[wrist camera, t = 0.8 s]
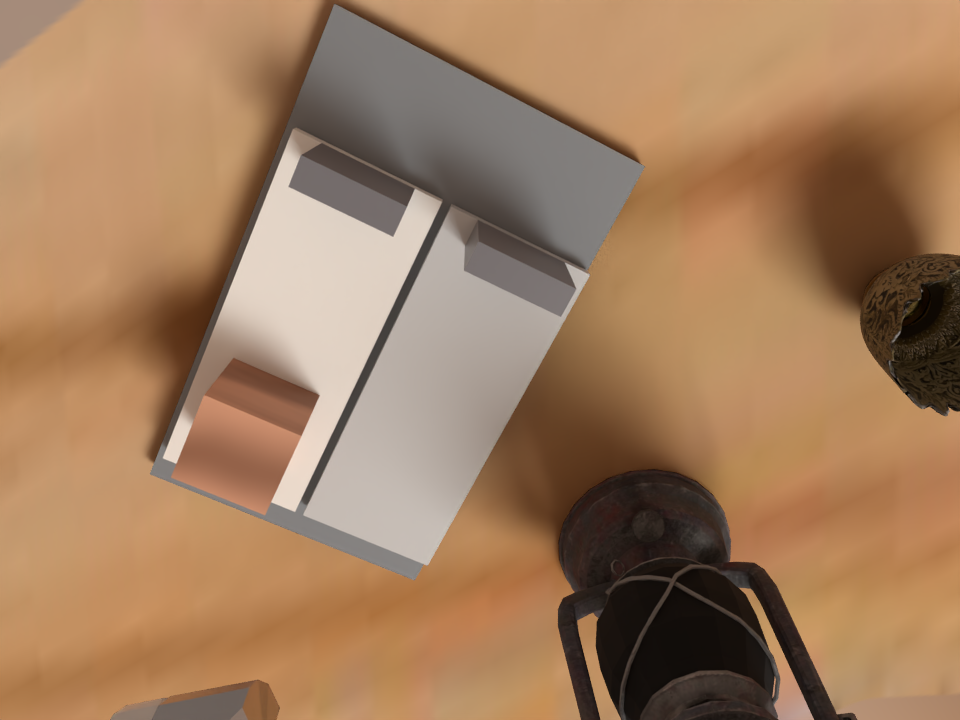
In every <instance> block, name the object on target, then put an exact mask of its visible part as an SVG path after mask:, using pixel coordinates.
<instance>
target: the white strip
mask: <svg viewBox="0 0 960 720" xmlns="http://www.w3.org/2000/svg"><path fill="white" fill-rule="evenodd" d="M442 201H443V199H441V198H439V197H437V196H435V195H433V194H431V193H429V192H426V191H424V190H422V189H420V188H418V187H416V186H414V185H412V184H410V183H408V182H406V181H404V180H402V179H400V178H398V177H396V176H394V175H392V174H390V173H388V172H386V171H384V170H382V169H380V168H378V167H376V166H374V165H372V164H370V163H368V162H366V161H363V160H361V159H359V158H357V157H355V156H353V155H351V154H349V153H347V152H345V151H343V150H341V149H339V148H337V147H335V146H333V145H331V144H329V143H327V142H325V141H323V140H321V139H319V138H317V137H315V136H313V135H311V134H309V133H307V132H305V131H303V130H300V129H298V128H294V129H293V130H292V133H291V135H290V138H289V140H288V143H287V145H286V148H285V150H284V153H283V155H282V158H281V161H280V163H279V166H278V168H277V171H276V173H275V176H274V178H273V181H272V183H271V186H270V188H269V191H268V193H267V196H266V198H265V201H264V203H263V206H262V209H261V211H260V214H259V216H258V219H257V221H256V224H255V226H254V229H253V231H252V234H251V236H250V239H249V241H248V244H247V246H246V249H245V251H244V254H243V257H242V259H241V262H240V264H239V267H238V269H237V272H236V274H235V277H234V279H233V282H232V284H231V287H230V289H229V292H228V294H227V297H226V299H225V302H224V305H223V307H222V310H221V312H220V315H219V317H218V320H217V322H216V325H215V327H214V330H213V332H212V335H211V337H210V340H209V342H208V345H207V347H206V350H205V353H204V355H203V358H202V360H201V363H200V365H199V368H198V370H197V373H196V375H195V378H194V380H193V383H192V385H191V388H190V390H189V393H188V396H187V398H186V401H185V403H184V406H183V408H182V411H181V413H180V416H179V418H178V421H177V423H176V426H175V428H174V431H173V433H172V436H171V438H170V441H169V444H168V446H167V449H166V451H165V454H164V456H163V459H166V460H168V461H171V462H173V463H177V461H178V458H179V456H180V453H181V451H182V449H183V446H184V444H185V441H186V439H187V436H188V434H189V431H190V429H191V426H192V424H193V421H194V419H195V416H196V414H197V411H198V409H199V406H200V404H201V401H202V399H203V397H204V395H205V393H206V392H207V391H208V389H209V388H210V387H211V386H212V384H213V383H214V382H215V381H216V379H217V378H218V377H219V376H220V374H221V373H222V372H223V371H224V369H225V368H226V367H227V365H228V364H229V363H230V362H231V360H232V359H233V358H235V359H237V360H240V361H242V362H244V363H247V364H249V365H251V366H253V367H256V368H258V369H260V370H263V371H265V372H267V373H270V374H272V375H274V376H276V377H279V378H281V379H283V380H286V381H288V382H290V383H293V384H295V385H297V386H299V387H302V388H304V389H306V390H309V391H311V392H313V393H316V394H318V395H320V396H319V398H318V401H317V403H316V405H315V407H314V410H313V412H312V414H311V416H310V418H309V421H308V423H307V425H306V427H305V430H304V432H303V434H302V436H301V438H300V441H299V443H298V445H297V447H296V449H295V451H294V454H293V456H292V458H291V460H290V462H289V464H288V467H287V469H286V471H285V473H284V475H283V477H282V480H281V482H280V484H279V486H278V488H277V491H276V493H275V495H274V497H273V499H272V501H271V502H272V503H274V504H277V505H279V506H282V507H284V508H286V509H289V510H291V511H294V512H295V511H296V509H297V507H298V505H299V502H300V500H301V498H302V496H303V494H304V492H305V490H306V488H307V486H308V484H309V481H310V479H311V477H312V475H313V473H314V471H315V469H316V467H317V465H318V462H319V460H320V458H321V456H322V454H323V452H324V450H325V448H326V446H327V444H328V441H329V439H330V437H331V435H332V433H333V431H334V429H335V427H336V425H337V423H338V420H339V418H340V416H341V414H342V412H343V410H344V408H345V406H346V404H347V401H348V399H349V397H350V395H351V393H352V391H353V389H354V387H355V385H356V383H357V380H358V378H359V376H360V374H361V372H362V370H363V368H364V366H365V364H366V361H367V359H368V357H369V355H370V353H371V351H372V349H373V347H374V345H375V343H376V340H377V338H378V336H379V334H380V332H381V330H382V328H383V326H384V324H385V321H386V319H387V317H388V315H389V313H390V311H391V309H392V307H393V305H394V303H395V300H396V298H397V296H398V294H399V292H400V290H401V288H402V286H403V284H404V281H405V279H406V277H407V275H408V273H409V271H410V269H411V267H412V265H413V263H414V260H415V258H416V256H417V254H418V252H419V250H420V248H421V246H422V244H423V241H424V239H425V237H426V235H427V233H428V231H429V229H430V227H431V225H432V223H433V220H434V218H435V216H436V214H437V212H438V210H439V208H440V206H441V204H442Z"/></svg>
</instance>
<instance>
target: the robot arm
mask: <svg viewBox="0 0 960 720" xmlns="http://www.w3.org/2000/svg"><path fill="white" fill-rule="evenodd" d="M279 709H280V707H279V705H278V703H277V701H276V699H275V697H274V695H273V693H272V691H271V688H270V686H269V684H267V683H265V682H262V681H260V680H254V681H248V682H243V683H238V684H233V685H227V686H222V687H217V688H211V689H206V690H201V691H195V692H190V693H185V694H179V695H174V696H170V697H169V698H161V699H156V700H151V701H146V702H141V703H136V704H131V705H126V706H125V707H123V708H122V709H120V710H119V711H117V712H116V713H114V714H113V716H112V717H111V719H110V720H277V716H278V712H279Z"/></svg>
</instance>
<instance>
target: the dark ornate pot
mask: <svg viewBox="0 0 960 720" xmlns="http://www.w3.org/2000/svg"><path fill="white" fill-rule="evenodd" d="M860 324H861V332H862V335H863V339H864V341H865V343H866V345H867V348H868V349H869V351H870V352H871V354H872V356H873V357H874V358H875V360H876V361H877V362H878V364H879V365H880V366H881V367H882V368H883V369H884V371H885V372H886V373H887V374H888V375H889V376H890V377H891V379H892V380H893V381H894V382H895V383H896V384H897V385H898V387H899V388H900V389H901V390H902V391H903V393H905V394H906V395H907V396H908V397H909V398H910V399H911V401H912V402H913V403H914V404H915V405H917V406H918V407H919V408H921V409H925V408H927V407H931V408H932V409H934V410H935V411H936V412H938V413H940V414H941V415H943V416H947V415H948V413H949V408H951V409H952V410H954V411H957V412H958V411H960V256H958V255H951V254H924V255H919V256H915V257H911V258H908V259H905V260H903V261H901V262H898V263H897V264H895V265H893V266H892V267H890V268H888V269H887V270H885V271H883V272H881V273H880V274H878V275H877V276H876V277H874V278H873V279H872V281H871V282H870V283H869V284H868V286H867V288H866V290H865V293H864V296H863V304H862V308H861V314H860ZM948 407H949V408H948Z"/></svg>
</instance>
